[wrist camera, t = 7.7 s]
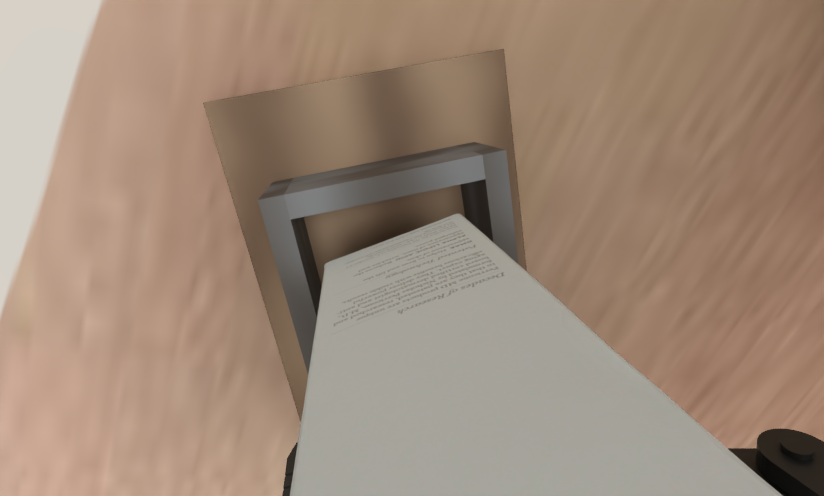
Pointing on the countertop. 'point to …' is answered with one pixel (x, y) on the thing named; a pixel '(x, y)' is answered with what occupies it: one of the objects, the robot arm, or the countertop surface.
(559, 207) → the countertop surface
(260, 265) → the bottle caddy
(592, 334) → the skincare box
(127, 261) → the countertop surface
